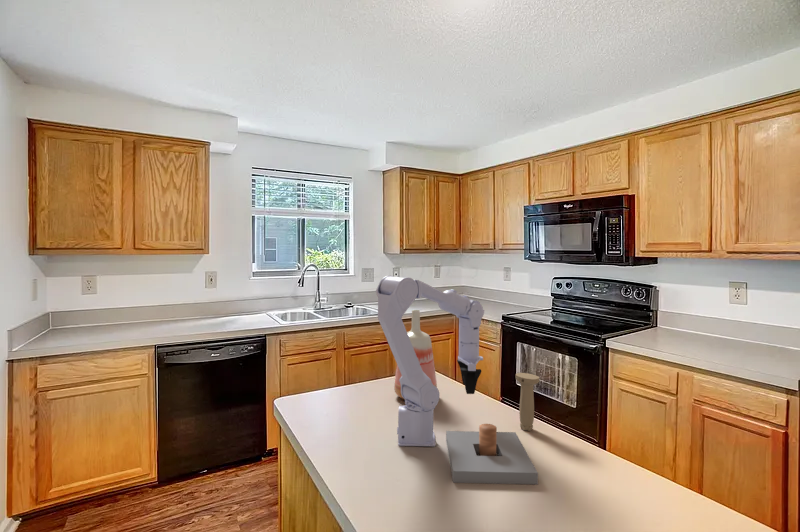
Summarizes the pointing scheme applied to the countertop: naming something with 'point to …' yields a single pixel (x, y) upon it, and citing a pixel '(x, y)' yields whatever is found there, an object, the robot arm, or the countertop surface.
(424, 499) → the countertop surface
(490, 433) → the peg
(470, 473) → the socket plate
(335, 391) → the countertop surface
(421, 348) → the vase
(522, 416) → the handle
